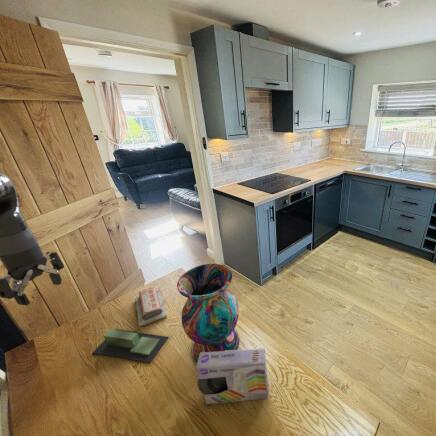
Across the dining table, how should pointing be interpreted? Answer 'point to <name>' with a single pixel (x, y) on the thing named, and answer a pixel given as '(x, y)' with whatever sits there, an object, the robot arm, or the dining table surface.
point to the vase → (209, 309)
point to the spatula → (131, 341)
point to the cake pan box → (233, 375)
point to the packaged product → (149, 306)
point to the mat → (125, 352)
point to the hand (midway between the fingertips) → (42, 293)
